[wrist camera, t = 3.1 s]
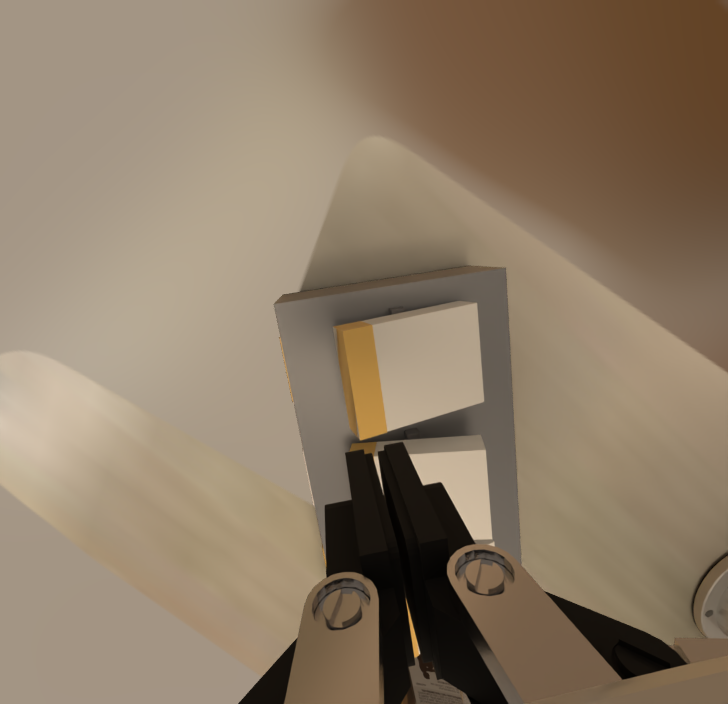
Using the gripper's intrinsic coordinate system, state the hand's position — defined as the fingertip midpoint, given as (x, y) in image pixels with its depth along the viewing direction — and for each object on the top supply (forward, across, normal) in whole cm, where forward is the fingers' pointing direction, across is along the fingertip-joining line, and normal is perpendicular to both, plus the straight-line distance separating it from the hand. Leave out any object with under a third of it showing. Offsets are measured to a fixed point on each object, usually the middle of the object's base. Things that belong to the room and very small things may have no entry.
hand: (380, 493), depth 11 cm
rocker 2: (+12, -3, +8) cm, 15 cm away
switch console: (+19, -4, +8) cm, 21 cm away
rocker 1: (+12, -3, 0) cm, 13 cm away
